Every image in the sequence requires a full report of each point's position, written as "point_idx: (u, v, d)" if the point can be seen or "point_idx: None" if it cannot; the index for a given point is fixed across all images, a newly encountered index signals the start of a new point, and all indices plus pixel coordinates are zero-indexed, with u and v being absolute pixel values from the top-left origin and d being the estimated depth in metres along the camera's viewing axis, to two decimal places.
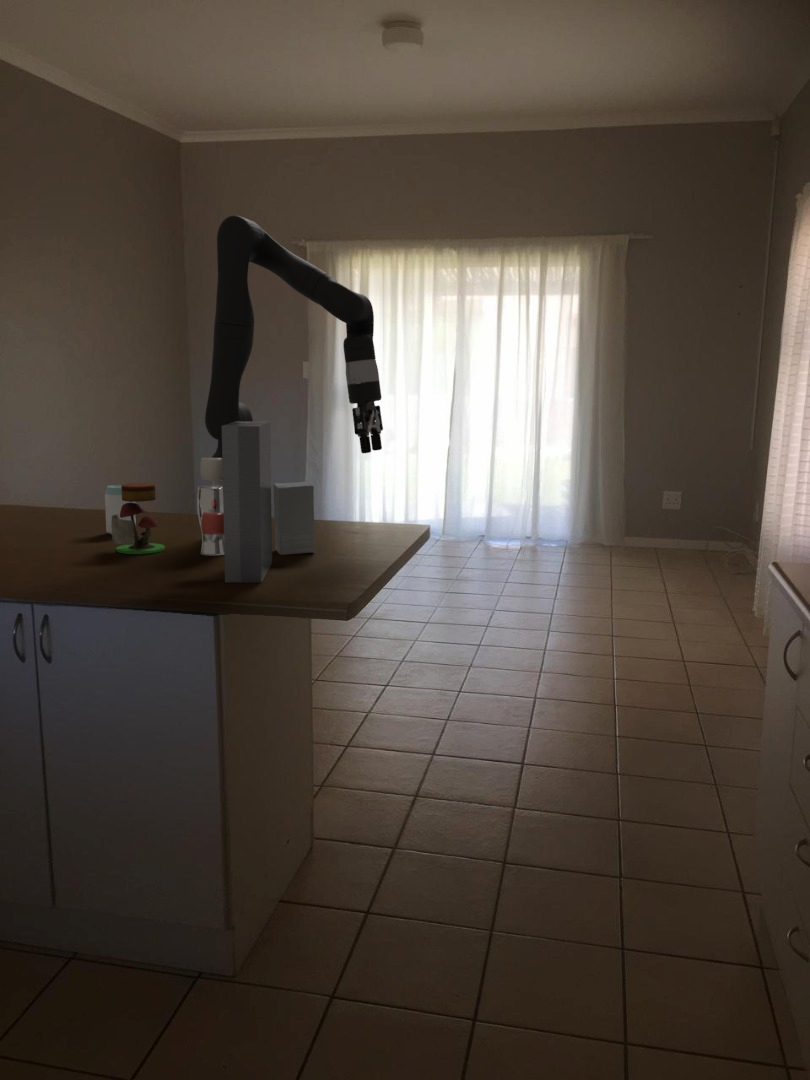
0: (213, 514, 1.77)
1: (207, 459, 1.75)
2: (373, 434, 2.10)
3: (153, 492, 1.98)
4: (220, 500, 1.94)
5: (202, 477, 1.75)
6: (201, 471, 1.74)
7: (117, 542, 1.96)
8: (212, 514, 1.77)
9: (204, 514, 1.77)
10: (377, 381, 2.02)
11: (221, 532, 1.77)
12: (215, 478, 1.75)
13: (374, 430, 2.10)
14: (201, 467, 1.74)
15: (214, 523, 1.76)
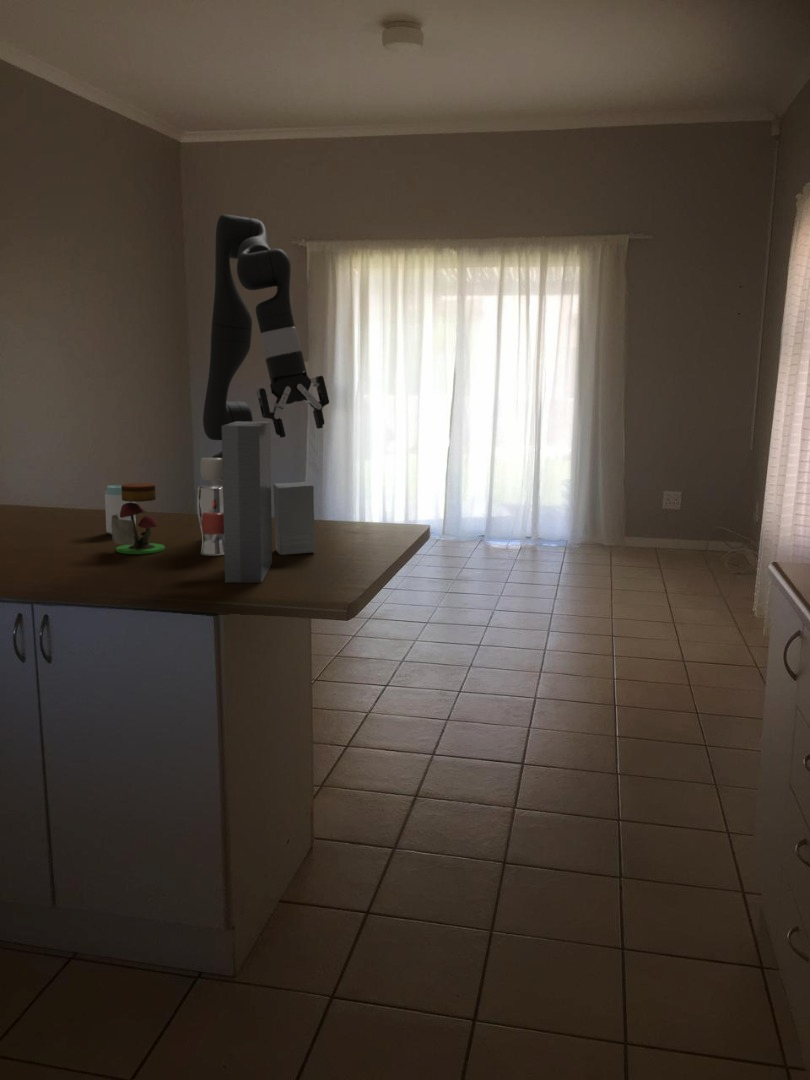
0: (213, 514, 1.77)
1: (207, 459, 1.75)
2: (314, 410, 1.83)
3: (153, 492, 1.98)
4: (220, 500, 1.94)
5: (202, 477, 1.75)
6: (201, 471, 1.74)
7: (117, 542, 1.96)
8: (212, 514, 1.77)
9: (204, 514, 1.77)
10: (285, 354, 1.75)
11: (221, 532, 1.77)
12: (215, 478, 1.75)
13: None
14: (201, 467, 1.74)
15: (214, 523, 1.76)
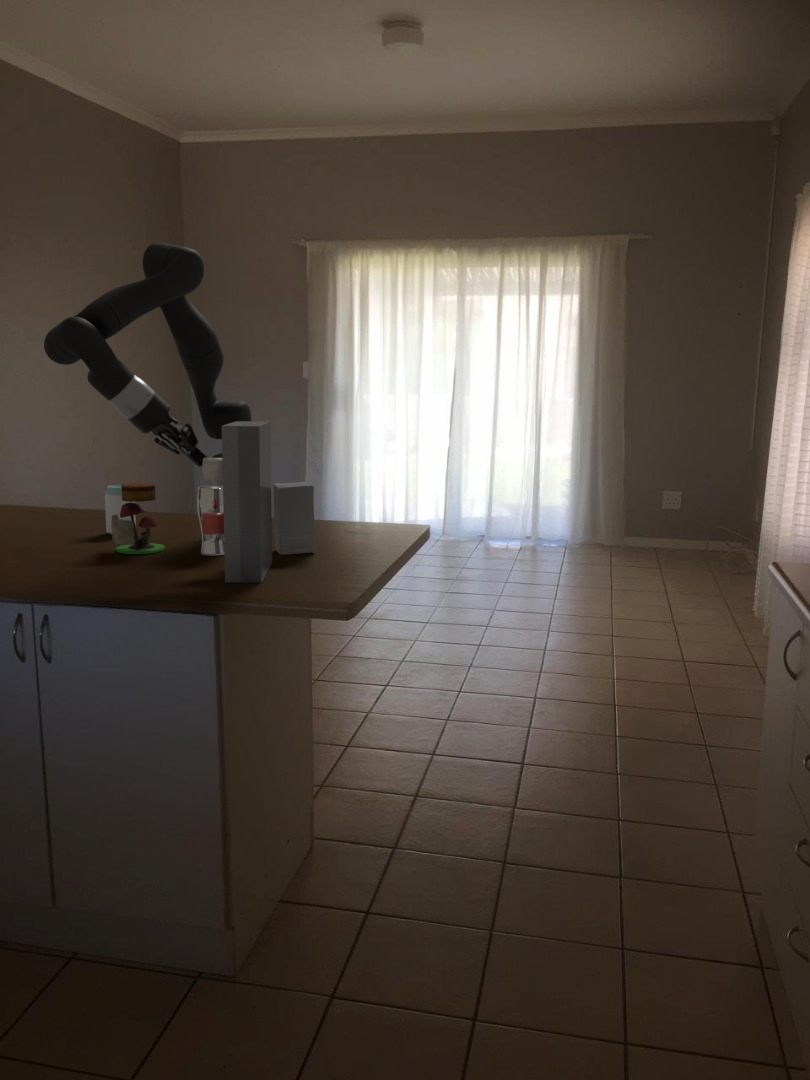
0: (213, 514, 1.77)
1: (209, 459, 1.75)
2: None
3: (153, 492, 1.98)
4: (220, 500, 1.94)
5: (204, 477, 1.75)
6: (203, 471, 1.74)
7: (117, 542, 1.96)
8: (212, 514, 1.77)
9: (204, 514, 1.77)
10: (128, 419, 1.69)
11: (221, 532, 1.77)
12: (217, 478, 1.75)
13: None
14: (203, 467, 1.74)
15: (214, 523, 1.76)
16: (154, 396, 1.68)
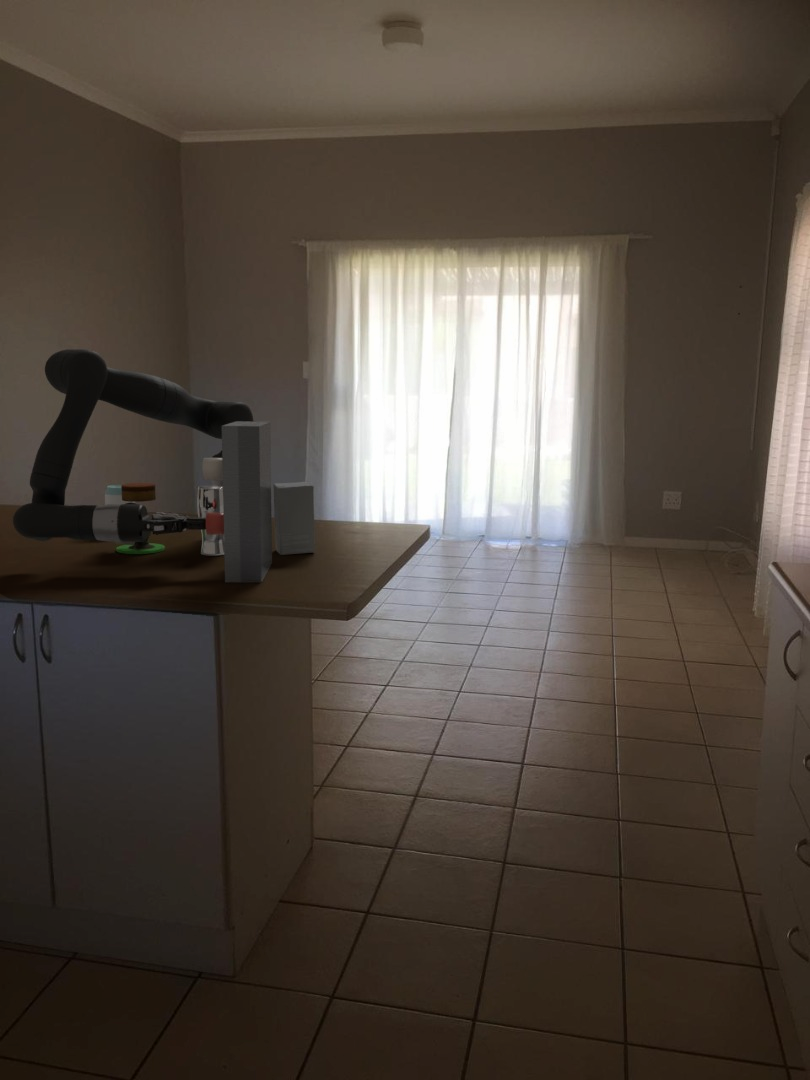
0: (217, 514, 1.77)
1: (209, 459, 1.75)
2: None
3: (153, 492, 1.98)
4: (220, 500, 1.94)
5: (204, 477, 1.75)
6: (203, 471, 1.74)
7: (117, 542, 1.96)
8: (216, 514, 1.77)
9: (208, 514, 1.77)
10: None
11: None
12: (217, 478, 1.75)
13: None
14: (203, 467, 1.74)
15: (218, 523, 1.76)
16: (118, 516, 1.74)
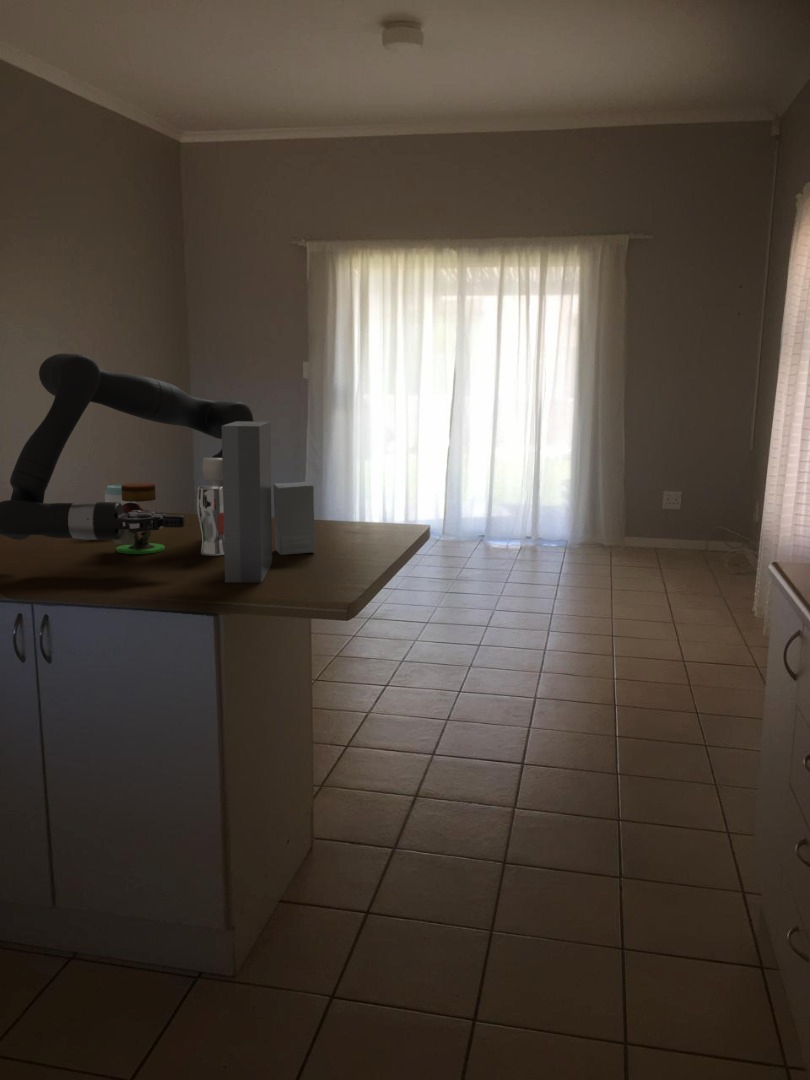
0: None
1: (209, 459, 1.75)
2: None
3: (153, 492, 1.98)
4: (220, 500, 1.94)
5: (204, 477, 1.75)
6: (203, 471, 1.74)
7: (117, 542, 1.96)
8: None
9: (219, 514, 1.77)
10: None
11: None
12: (217, 478, 1.75)
13: None
14: (203, 467, 1.74)
15: None
16: (94, 514, 1.73)
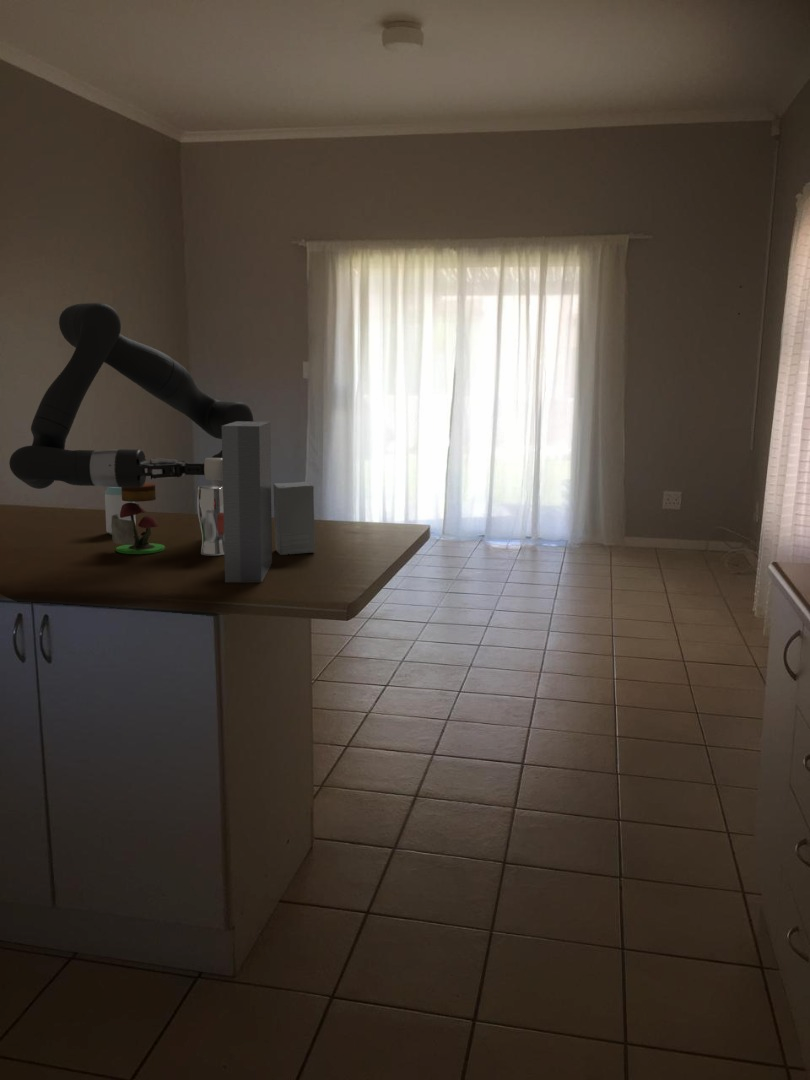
0: None
1: (211, 459, 1.75)
2: None
3: (153, 492, 1.98)
4: (220, 500, 1.94)
5: (206, 477, 1.75)
6: (205, 471, 1.74)
7: (117, 542, 1.96)
8: None
9: (219, 514, 1.77)
10: None
11: None
12: (219, 478, 1.75)
13: None
14: (205, 467, 1.74)
15: None
16: (116, 460, 1.72)
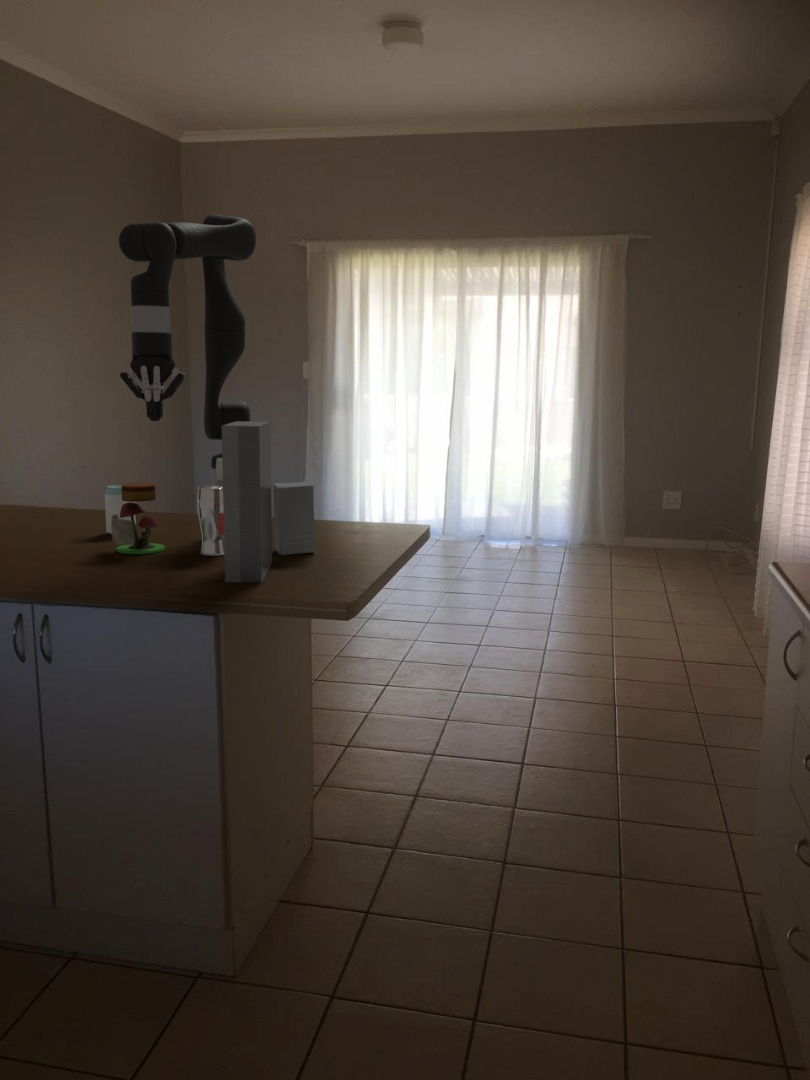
0: None
1: None
2: None
3: (153, 492, 1.98)
4: (220, 500, 1.94)
5: (218, 477, 1.75)
6: (217, 471, 1.74)
7: (117, 542, 1.96)
8: None
9: (219, 514, 1.77)
10: (142, 332, 1.68)
11: None
12: None
13: None
14: (217, 467, 1.74)
15: None
16: None
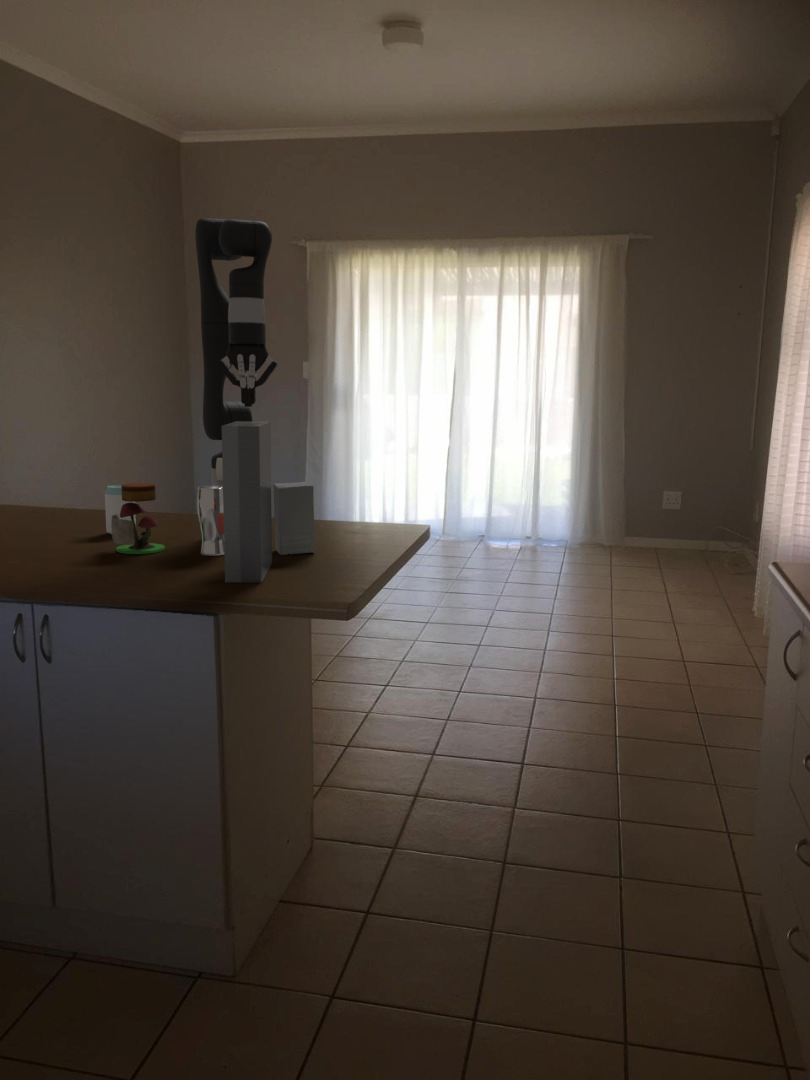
0: None
1: None
2: None
3: (153, 492, 1.98)
4: (220, 500, 1.94)
5: (218, 477, 1.75)
6: (217, 471, 1.74)
7: (117, 542, 1.96)
8: None
9: (219, 514, 1.77)
10: (240, 322, 1.79)
11: None
12: None
13: None
14: (217, 467, 1.74)
15: None
16: None
